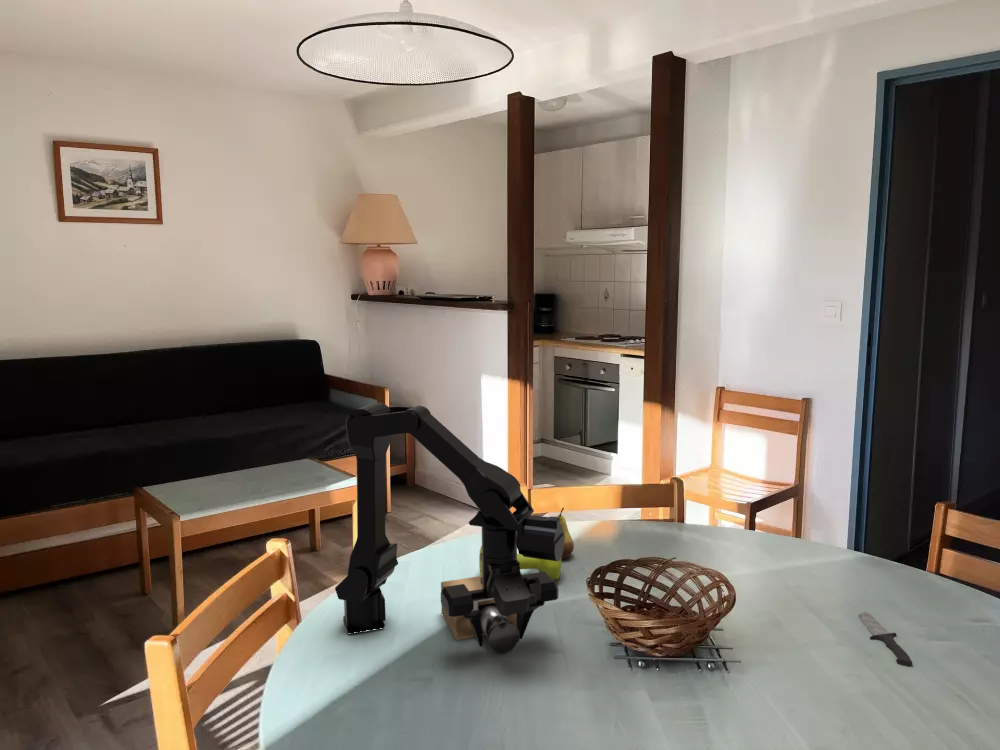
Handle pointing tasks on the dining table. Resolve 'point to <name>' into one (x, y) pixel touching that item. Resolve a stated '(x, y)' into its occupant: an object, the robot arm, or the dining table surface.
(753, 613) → the dining table surface
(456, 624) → the housing
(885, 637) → the knife
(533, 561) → the dumbbell
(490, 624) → the dark grey metal cylinder
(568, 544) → the fruit
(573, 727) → the dining table surface
